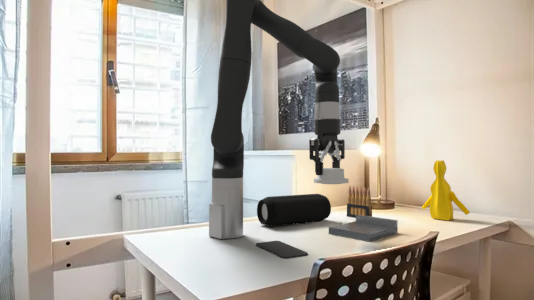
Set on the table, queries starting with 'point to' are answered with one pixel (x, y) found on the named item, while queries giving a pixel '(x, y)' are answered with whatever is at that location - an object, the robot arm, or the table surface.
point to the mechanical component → (331, 176)
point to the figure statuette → (442, 196)
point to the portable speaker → (293, 209)
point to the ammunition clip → (359, 202)
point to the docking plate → (366, 228)
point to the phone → (281, 249)
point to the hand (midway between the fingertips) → (327, 174)
